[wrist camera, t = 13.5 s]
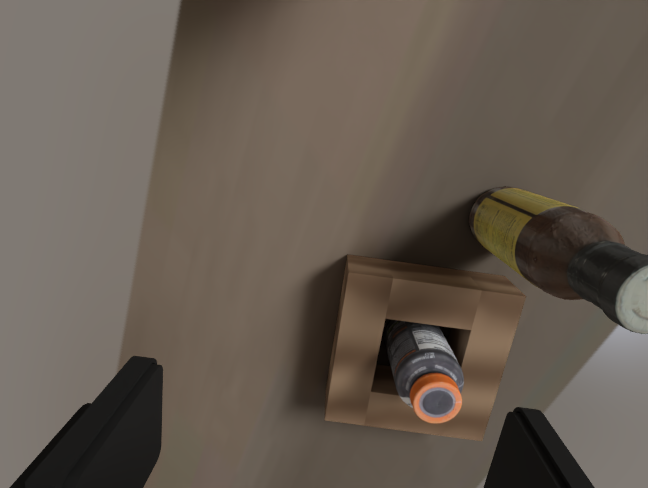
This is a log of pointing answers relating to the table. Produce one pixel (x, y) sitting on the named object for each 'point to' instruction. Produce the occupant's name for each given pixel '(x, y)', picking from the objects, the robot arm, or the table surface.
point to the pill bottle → (424, 370)
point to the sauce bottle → (564, 252)
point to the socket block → (426, 308)
